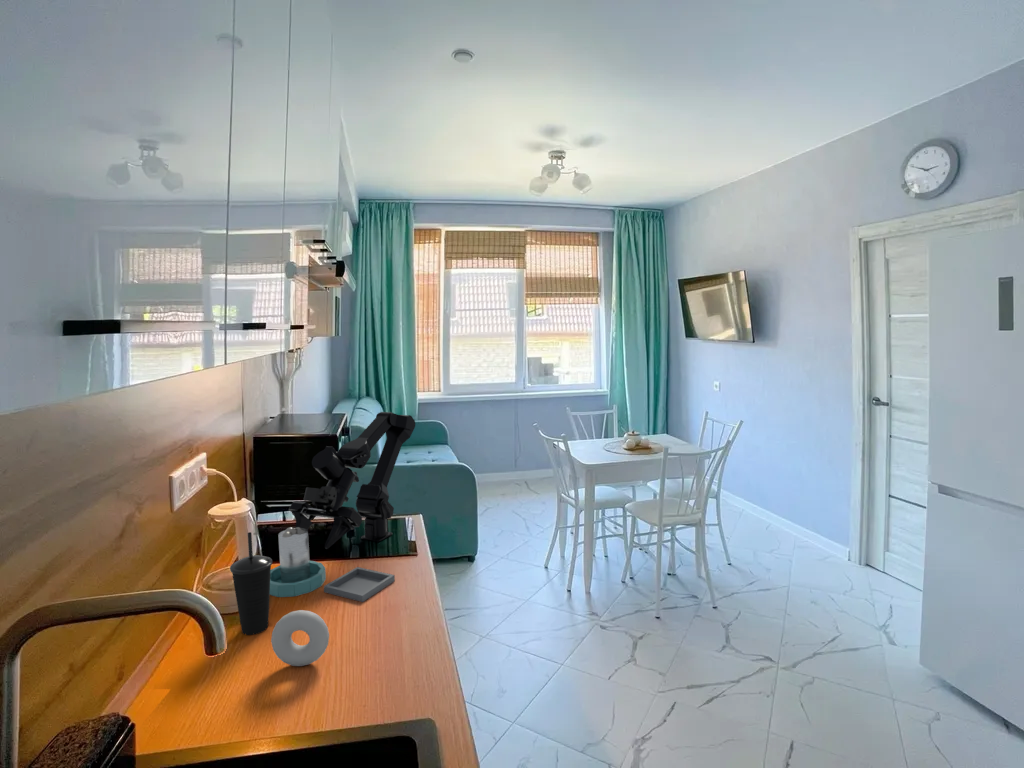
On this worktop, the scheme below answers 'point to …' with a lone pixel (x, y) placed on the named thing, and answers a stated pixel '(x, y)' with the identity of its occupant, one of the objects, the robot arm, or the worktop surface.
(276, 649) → the donut
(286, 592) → the bowl
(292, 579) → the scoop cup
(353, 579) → the parts tray
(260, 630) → the drinking cup
